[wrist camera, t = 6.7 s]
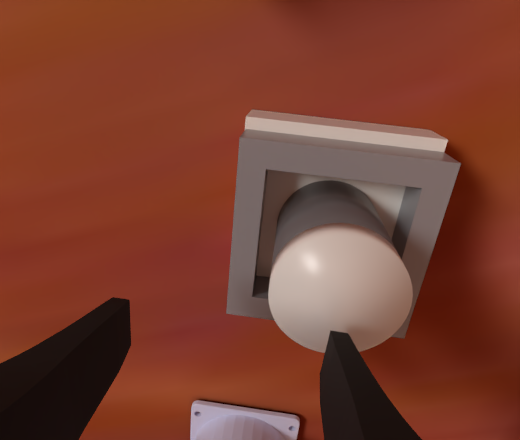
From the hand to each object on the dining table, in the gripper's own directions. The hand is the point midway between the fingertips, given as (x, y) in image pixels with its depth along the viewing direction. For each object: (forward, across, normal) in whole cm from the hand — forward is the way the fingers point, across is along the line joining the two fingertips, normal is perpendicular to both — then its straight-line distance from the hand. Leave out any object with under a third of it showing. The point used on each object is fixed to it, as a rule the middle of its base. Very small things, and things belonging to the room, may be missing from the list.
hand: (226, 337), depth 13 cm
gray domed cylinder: (+7, -4, -2) cm, 8 cm away
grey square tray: (+9, -4, -2) cm, 10 cm away
